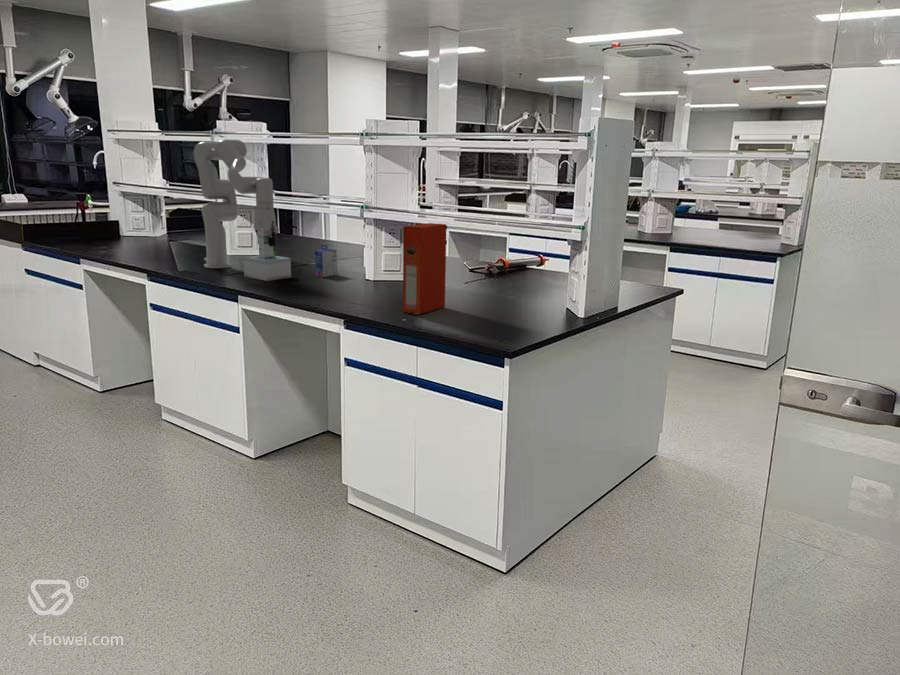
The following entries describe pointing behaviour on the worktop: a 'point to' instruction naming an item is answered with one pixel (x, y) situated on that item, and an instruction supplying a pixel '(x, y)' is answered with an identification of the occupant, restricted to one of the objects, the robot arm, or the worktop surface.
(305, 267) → the worktop surface
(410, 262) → the file binder
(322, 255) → the ink cartridge box
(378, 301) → the worktop surface
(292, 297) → the worktop surface
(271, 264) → the drop box
